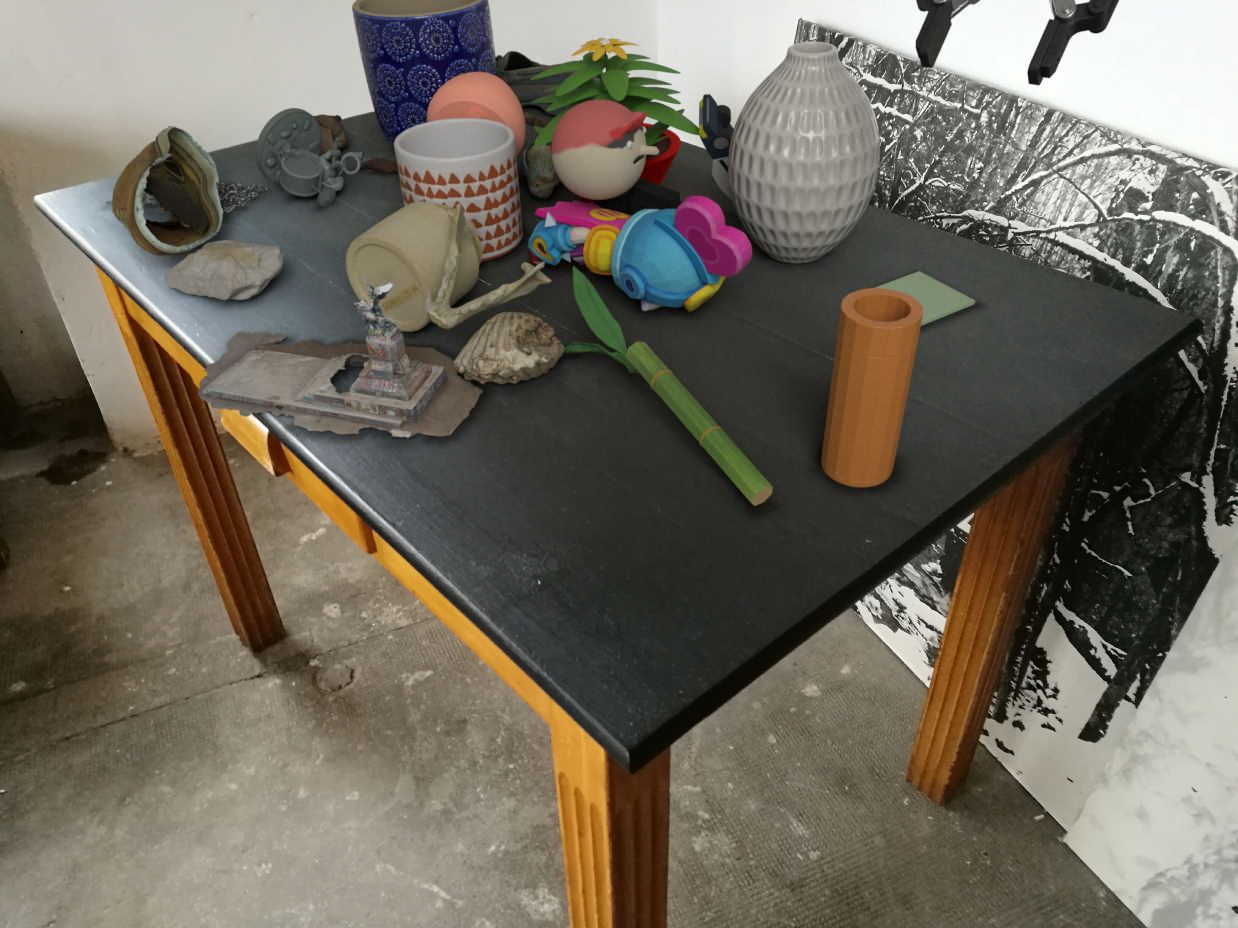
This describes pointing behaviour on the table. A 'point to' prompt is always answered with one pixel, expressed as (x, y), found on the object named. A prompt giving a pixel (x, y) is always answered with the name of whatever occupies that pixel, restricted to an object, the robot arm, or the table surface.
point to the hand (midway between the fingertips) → (977, 70)
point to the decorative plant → (666, 390)
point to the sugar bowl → (411, 262)
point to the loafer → (517, 77)
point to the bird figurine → (539, 164)
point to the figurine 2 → (331, 132)
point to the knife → (379, 164)
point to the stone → (227, 270)
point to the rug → (219, 196)
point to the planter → (419, 53)
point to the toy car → (716, 138)
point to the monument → (380, 397)
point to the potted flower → (619, 99)
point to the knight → (646, 248)
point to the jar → (870, 385)
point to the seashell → (509, 349)
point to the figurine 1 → (301, 156)
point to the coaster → (930, 295)
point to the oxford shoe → (170, 194)
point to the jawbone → (451, 317)
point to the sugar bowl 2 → (479, 102)
